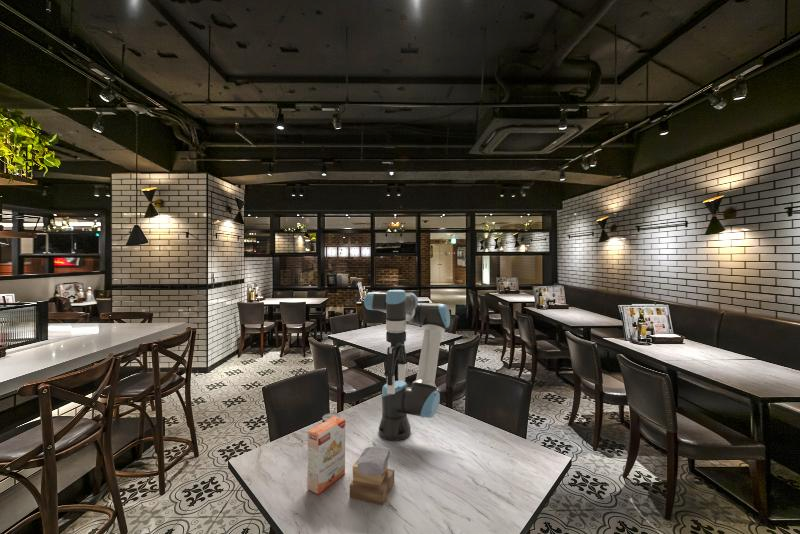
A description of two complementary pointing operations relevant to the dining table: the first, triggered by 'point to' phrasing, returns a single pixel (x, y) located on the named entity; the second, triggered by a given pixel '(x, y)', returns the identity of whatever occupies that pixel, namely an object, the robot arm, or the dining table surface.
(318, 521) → the dining table surface
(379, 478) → the tower top block
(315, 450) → the cracker box
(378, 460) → the stone block
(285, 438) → the dining table surface
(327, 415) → the canned tomato
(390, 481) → the tower base block
